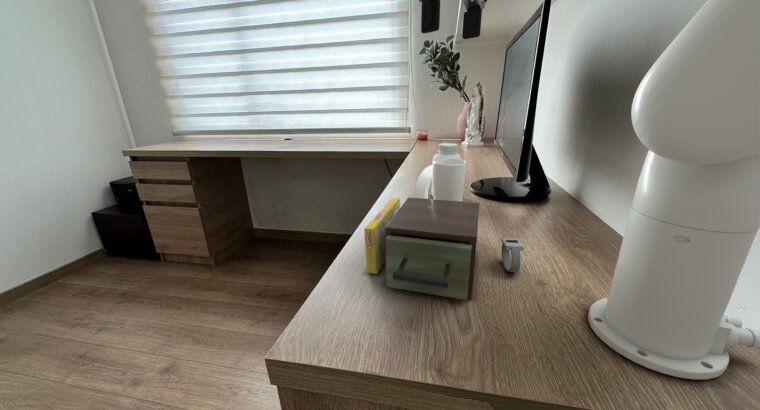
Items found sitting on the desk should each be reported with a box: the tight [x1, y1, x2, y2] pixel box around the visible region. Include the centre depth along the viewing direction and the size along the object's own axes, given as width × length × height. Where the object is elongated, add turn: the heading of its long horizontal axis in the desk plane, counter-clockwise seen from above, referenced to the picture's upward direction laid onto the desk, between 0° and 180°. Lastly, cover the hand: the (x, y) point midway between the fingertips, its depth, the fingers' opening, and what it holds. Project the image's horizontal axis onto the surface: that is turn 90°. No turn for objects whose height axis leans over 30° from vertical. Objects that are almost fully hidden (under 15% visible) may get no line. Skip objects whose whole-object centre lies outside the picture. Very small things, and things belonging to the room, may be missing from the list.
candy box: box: [363, 197, 401, 275], centre depth 58 cm, size 16×2×8 cm, turn 162°
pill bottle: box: [431, 142, 463, 197], centre depth 89 cm, size 8×8×15 cm
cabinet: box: [385, 196, 480, 300], centre depth 52 cm, size 15×13×10 cm
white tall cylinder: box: [431, 159, 467, 202], centre depth 67 cm, size 7×7×15 cm
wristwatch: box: [500, 237, 525, 273], centre depth 52 cm, size 6×3×5 cm, turn 174°
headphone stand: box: [414, 163, 433, 199], centre depth 77 cm, size 5×6×12 cm
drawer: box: [385, 234, 472, 301], centre depth 48 cm, size 18×12×8 cm, turn 162°
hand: (451, 35), depth 50 cm, fingers open, 9 cm apart
